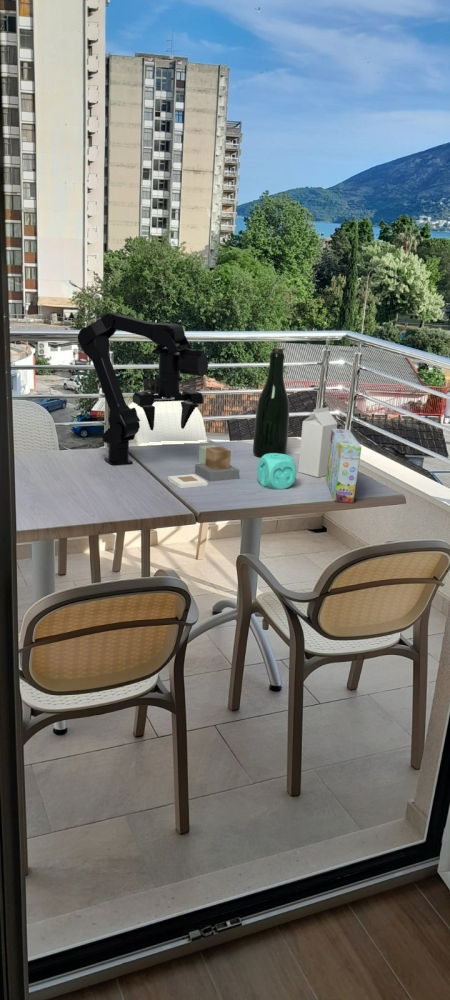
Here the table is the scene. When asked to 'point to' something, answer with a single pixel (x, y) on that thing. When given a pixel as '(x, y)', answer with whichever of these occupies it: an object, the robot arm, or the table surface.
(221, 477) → the charcoal base block
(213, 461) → the walnut cube
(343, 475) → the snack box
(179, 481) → the tile
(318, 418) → the milk carton
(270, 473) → the decorative dice
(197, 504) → the table surface
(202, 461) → the sage cube
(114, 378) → the robot arm
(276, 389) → the green wine bottle
